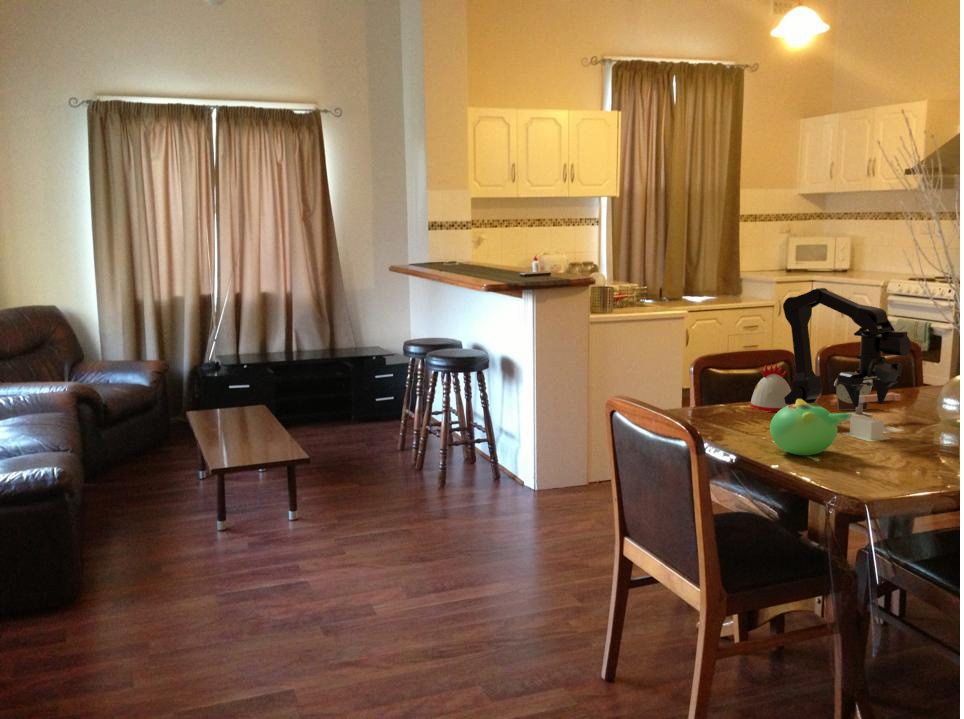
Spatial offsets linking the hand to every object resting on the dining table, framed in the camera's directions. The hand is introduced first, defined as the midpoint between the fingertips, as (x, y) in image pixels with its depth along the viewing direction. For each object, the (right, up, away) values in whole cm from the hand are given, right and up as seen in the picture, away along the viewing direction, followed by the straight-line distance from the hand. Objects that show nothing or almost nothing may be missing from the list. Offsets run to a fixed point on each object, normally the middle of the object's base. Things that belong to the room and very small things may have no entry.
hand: (868, 405), depth 258 cm
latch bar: (+10, +1, +19) cm, 21 cm away
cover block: (0, -9, +2) cm, 9 cm away
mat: (0, -9, +2) cm, 9 cm away
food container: (+11, -3, +40) cm, 42 cm away
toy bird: (-24, -13, -15) cm, 31 cm away
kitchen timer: (-14, -3, +42) cm, 44 cm away
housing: (+7, -7, +13) cm, 17 cm away
